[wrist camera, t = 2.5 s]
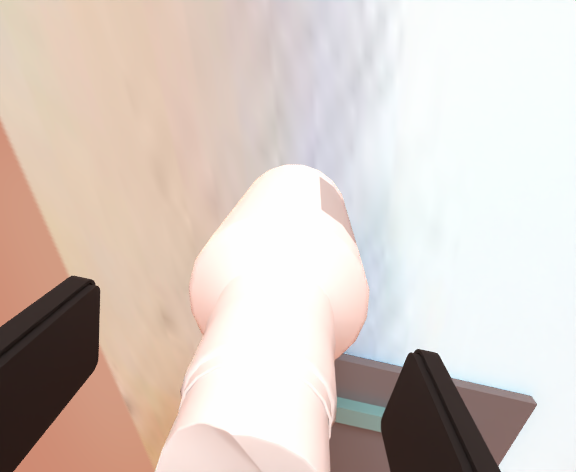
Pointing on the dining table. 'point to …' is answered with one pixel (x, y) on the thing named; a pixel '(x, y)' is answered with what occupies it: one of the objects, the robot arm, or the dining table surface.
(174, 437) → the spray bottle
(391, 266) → the dining table surface
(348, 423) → the dock
